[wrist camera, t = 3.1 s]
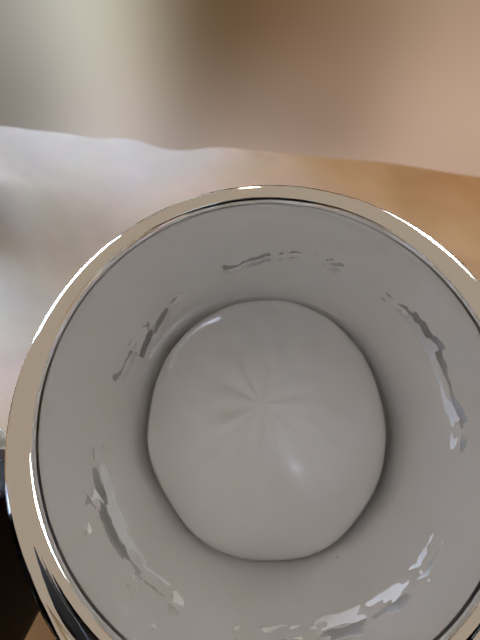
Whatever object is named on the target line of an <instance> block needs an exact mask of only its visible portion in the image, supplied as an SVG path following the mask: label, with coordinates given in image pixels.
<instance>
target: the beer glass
mask: <svg viewBox="0 0 480 640" xmlns="http://www.w3.org/2000/svg"><path fill="white" fill-rule="evenodd" d="M5 490H6V501H7V510H8V516H9V522H10V527H11V532H12V536H13V541H14V545H15V548H16V552H17V556H18V559H19V562H20V565H21V568H22V571H23V574H24V577H25V579H26V582H27V584H28V587H29V589H30V592H31V594H32V596H33V598H34V601H35V603H36V605H37V607H38V609H39V611H40V612H41V614H42V616H43V618H44V620H45V622H46V623H47V625H48V627H49V628H50V630H51V632H52V633H53V635H54V636H55V638H56V639H57V640H480V281H479V280H478V278H477V277H476V276H475V275H474V274H473V273H472V272H471V271H470V270H469V269H468V268H467V267H466V266H465V265H464V264H463V263H462V262H461V261H460V260H459V259H458V258H456V257H455V256H454V255H453V254H452V253H451V252H450V251H448V250H447V249H446V248H445V247H443V246H442V245H441V244H440V243H438V242H437V241H436V240H434V239H433V238H432V237H430V236H429V235H427V234H426V233H424V232H423V231H421V230H420V229H418V228H417V227H415V226H414V225H412V224H410V223H408V222H407V221H405V220H403V219H401V218H399V217H398V216H396V215H394V214H392V213H390V212H387V211H385V210H383V209H381V208H379V207H376V206H374V205H371V204H369V203H366V202H364V201H361V200H358V199H355V198H352V197H349V196H345V195H341V194H338V193H334V192H329V191H324V190H319V189H314V188H307V187H299V186H285V185H258V186H245V187H237V188H230V189H225V190H219V191H215V192H210V193H206V194H203V195H199V196H196V197H193V198H190V199H187V200H184V201H181V202H179V203H176V204H173V205H171V206H169V207H166V208H164V209H162V210H160V211H158V212H156V213H154V214H152V215H150V216H148V217H146V218H145V219H143V220H141V221H140V222H138V223H136V224H134V225H133V226H131V227H130V228H128V229H127V230H125V231H124V232H122V233H121V234H120V235H118V236H117V237H116V238H114V239H113V240H112V241H110V242H109V243H108V244H107V245H105V246H104V247H103V248H102V249H101V250H100V251H99V252H97V253H96V254H95V255H94V256H93V257H92V258H91V259H90V260H89V261H88V262H87V263H86V264H85V265H84V266H83V267H82V268H81V269H80V270H79V271H78V272H77V274H76V275H75V276H74V277H73V278H72V279H71V281H70V282H69V283H68V284H67V286H66V287H65V288H64V289H63V291H62V292H61V293H60V295H59V296H58V298H57V299H56V300H55V302H54V303H53V305H52V306H51V308H50V309H49V311H48V313H47V314H46V316H45V318H44V319H43V321H42V323H41V325H40V327H39V329H38V331H37V332H36V334H35V336H34V339H33V341H32V343H31V345H30V347H29V350H28V352H27V354H26V357H25V359H24V362H23V365H22V367H21V370H20V374H19V377H18V380H17V383H16V387H15V390H14V394H13V399H12V403H11V408H10V413H9V419H8V426H7V434H6V444H5Z"/></svg>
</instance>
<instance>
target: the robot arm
mask: <svg viewBox="0 0 480 640" xmlns="http://www.w3.org/2000/svg"><path fill="white" fill-rule="evenodd" d="M38 612H39V609H38V607H37V605H36V603H35V601H34V598H33V596H32V594H31V592H30V589H29V587H28V584H27V582H26V579H25V577H24V574H23V571H22V568H21V565H20V562H19V559H18V556H17V552H16V548H15V545H14V541H13V536H12V532H11V527H10V522H9V516H8V510H7V501H6V490H5V458H4V459H2V460H0V640H24V639H25V637H26V635H27V633H28V631H29V629H30V628H31V626H32V624H33V622H34V620H35V618H36V616H37V614H38Z"/></svg>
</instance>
